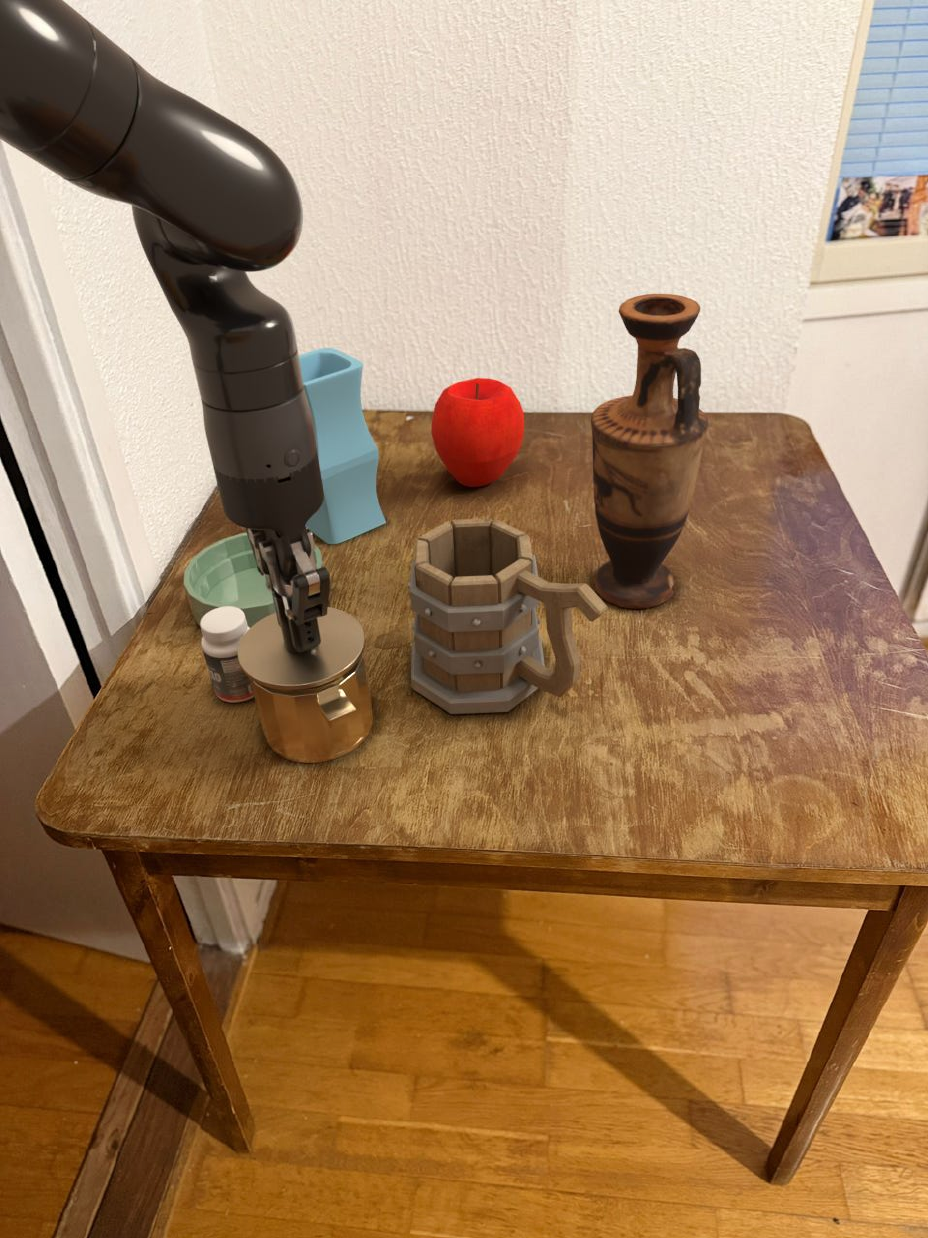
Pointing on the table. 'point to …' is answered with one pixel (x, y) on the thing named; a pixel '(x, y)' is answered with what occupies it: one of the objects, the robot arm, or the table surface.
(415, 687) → the tankard
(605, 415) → the vase
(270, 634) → the pot lid
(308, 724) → the pot
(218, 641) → the pill bottle
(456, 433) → the apple
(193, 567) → the bowl
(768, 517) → the table surface
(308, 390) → the vase
